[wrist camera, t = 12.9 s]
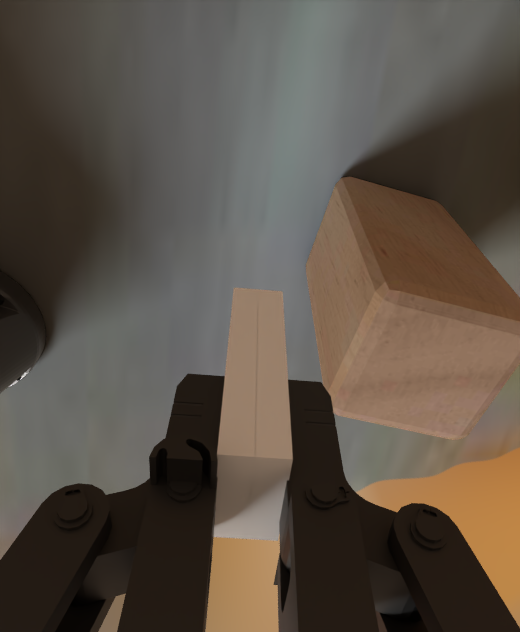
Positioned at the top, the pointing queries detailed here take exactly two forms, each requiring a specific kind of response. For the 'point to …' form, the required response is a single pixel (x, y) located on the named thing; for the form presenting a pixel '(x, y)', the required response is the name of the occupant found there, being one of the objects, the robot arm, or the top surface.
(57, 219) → the top surface
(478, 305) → the block
